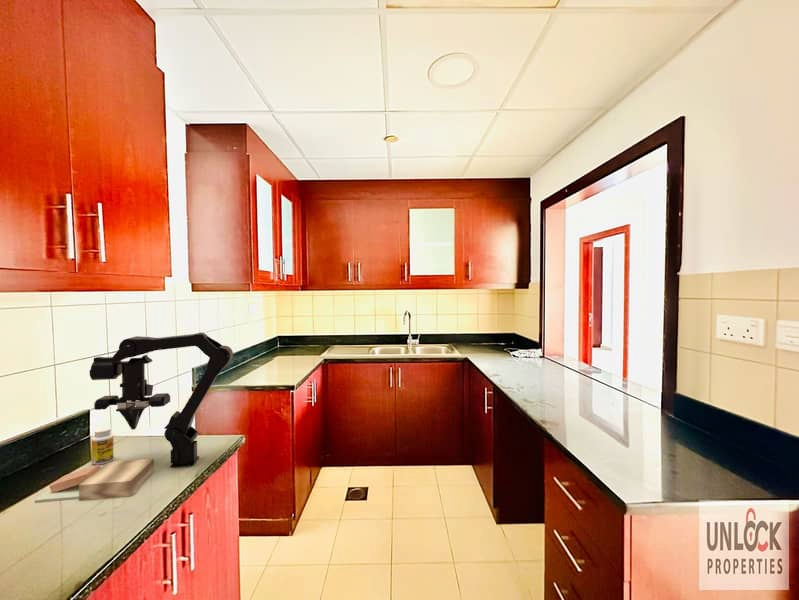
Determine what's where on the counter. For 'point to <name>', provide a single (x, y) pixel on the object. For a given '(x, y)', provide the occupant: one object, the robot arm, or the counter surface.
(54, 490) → the terracotta tile
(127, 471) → the block
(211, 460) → the counter surface
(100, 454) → the supplement bottle
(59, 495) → the sage mat
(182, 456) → the robot arm
